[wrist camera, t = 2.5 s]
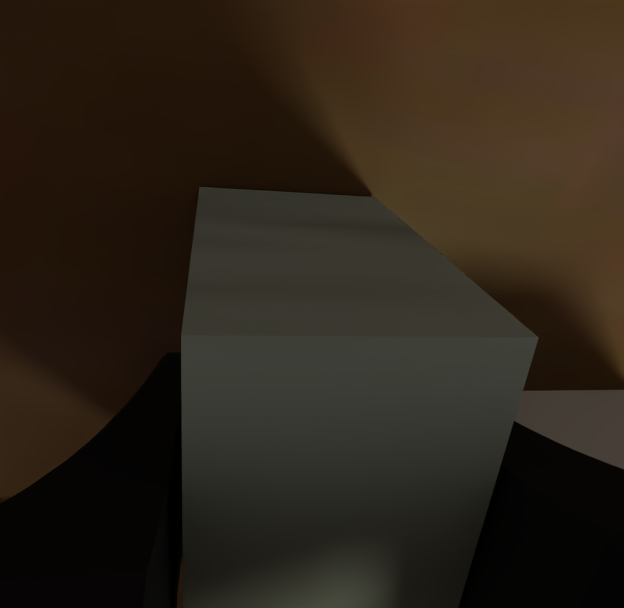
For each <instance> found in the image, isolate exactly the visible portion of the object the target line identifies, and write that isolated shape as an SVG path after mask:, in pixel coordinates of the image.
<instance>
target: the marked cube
mask: <svg viewBox="0 0 624 608" xmlns="http://www.w3.org/2000/svg"><path fill="white" fill-rule="evenodd" d="M514 421H516V422H518V423H519V424H521V425H523V426H525V427H527V428H529V429H531V430H533V431H535V432H537V433H539V434H541V435H543V436H545V437H547V438H549V439H551V440H553V441H555V442H558V443H560V444H562V445H564V446H567V447H569V448H571V449H573V450H576V451H578V452H581V453H583V454H586V455H588V456H591V457H593V458H596V459H598V460H601V461H603V462H606V463H608V464H611V465H614V466H616V467H619V468H622V469H624V390H554V391H523V392H522V396H521V399H520V402H519V406H518V409H517V412H516V416H515V419H514Z"/></svg>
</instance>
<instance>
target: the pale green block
mask: <svg viewBox="0 0 624 608" xmlns="http://www.w3.org/2000/svg"><path fill="white" fill-rule="evenodd" d="M538 339H539V337H538V336H536V335H535V334H534V333H533V332H532V331H531V330H529V329H528V328H527V327H526V326H525V325H524V324H522V323H521V322H520V321H519V320H518V319H517V318H515V317H514V316H513V315H512V314H511V313H510V312H508V311H507V310H506V309H505V308H504V307H503V306H501V305H500V304H499V303H498V302H497V301H496V300H494V299H493V298H492V297H491V296H490V295H489V294H487V293H486V292H485V291H484V290H483V289H482V288H480V287H479V286H478V285H477V284H476V283H475V282H473V281H472V280H471V279H470V278H469V277H468V276H466V275H465V274H464V273H463V272H462V271H461V270H459V269H458V268H457V267H456V266H455V265H454V264H452V263H451V262H450V261H449V260H448V259H447V258H445V257H444V256H443V255H442V254H441V253H440V252H438V251H437V250H436V249H435V248H434V247H433V246H431V245H430V244H429V243H428V242H427V241H426V240H424V239H423V238H422V237H421V236H420V235H419V234H417V233H416V232H415V231H414V230H413V229H412V228H410V227H409V226H408V225H407V224H406V223H405V222H403V221H402V220H401V219H400V218H399V217H398V216H396V215H395V214H394V213H393V212H392V211H391V210H389V209H388V208H387V207H386V206H385V205H384V204H382V203H381V202H380V201H379V200H378V199H377V198H375V197H366V196H349V195H331V194H314V193H297V192H280V191H262V190H245V189H228V188H211V187H199V195H198V203H197V211H196V219H195V227H194V235H193V243H192V251H191V259H190V267H189V276H188V284H187V292H186V300H185V308H184V316H183V324H182V332H181V396H182V553H183V608H458V607H459V603H460V600H461V597H462V593H463V590H464V587H465V583H466V580H467V577H468V573H469V570H470V567H471V563H472V560H473V557H474V553H475V550H476V546H477V543H478V540H479V536H480V533H481V530H482V526H483V523H484V520H485V516H486V513H487V510H488V506H489V503H490V499H491V496H492V493H493V489H494V486H495V483H496V479H497V476H498V473H499V469H500V466H501V463H502V459H503V456H504V453H505V449H506V446H507V442H508V439H509V436H510V432H511V429H512V426H513V422H514V419H515V416H516V412H517V409H518V406H519V402H520V399H521V396H522V392H523V389H524V385H525V382H526V379H527V375H528V372H529V369H530V365H531V362H532V359H533V355H534V352H535V349H536V345H537V342H538Z"/></svg>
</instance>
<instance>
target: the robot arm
mask: <svg viewBox="0 0 624 608" xmlns="http://www.w3.org/2000/svg"><path fill="white" fill-rule="evenodd" d="M181 559H182V396H181V353H167V354H166V355H164V356H163V357H162V358H161V360H160V362H159V363H158V365H157V366H156V368H155V369H154V371H153V372H152V373H151V375H150V376H149V377H148V379H147V380H146V381H145V383H144V384H143V385H142V386H141V388H140V389H139V390H138V391H137V392H136V393H135V395H134V396H133V397H132V398H131V399H130V401H129V402H128V403H127V404H126V405H125V406H124V407H123V408H122V410H121V411H120V412H119V413H118V414H117V415H116V416H115V417H114V418H113V419H112V420H111V421H110V422H109V423H108V424H107V425H106V426H105V427H104V428H103V429H102V430H101V431H100V432H99V433H98V434H97V435H96V436H95V437H93V438H92V439H91V440H90V441H89V442H88V443H87V444H86V445H85V446H83V447H82V448H81V449H80V450H79V451H77V452H76V453H75V454H74V455H73V456H71V457H70V458H69V459H68V460H66V461H65V462H64V463H62V464H61V465H59V466H58V467H56V468H55V469H54V470H52V471H51V472H49V473H48V474H46V475H45V476H44V477H42V478H41V479H39V480H38V481H36V482H35V483H34V484H32V485H31V486H29V487H28V488H26V489H25V490H23V491H21V492H20V493H18V494H16V495H15V496H13V497H11V498H10V499H8V500H7V501H5V502H3V503H2V504H0V608H177V592H178V582H179V573H180V565H181ZM458 608H624V469H622V468H619V467H616V466H614V465H611V464H608V463H606V462H603V461H601V460H598V459H596V458H593V457H591V456H588V455H586V454H583V453H581V452H578V451H576V450H573V449H571V448H569V447H567V446H564V445H562V444H560V443H558V442H555V441H553V440H551V439H549V438H547V437H545V436H543V435H541V434H539V433H537V432H535V431H533V430H531V429H529V428H527V427H525V426H523V425H521V424H519V423H518V422H516V421H514V422H513V426H512V429H511V432H510V436H509V439H508V442H507V446H506V449H505V453H504V456H503V459H502V463H501V466H500V469H499V473H498V476H497V479H496V483H495V486H494V489H493V493H492V496H491V499H490V503H489V506H488V510H487V513H486V516H485V520H484V523H483V526H482V530H481V533H480V536H479V540H478V543H477V546H476V550H475V553H474V557H473V560H472V563H471V567H470V570H469V573H468V577H467V580H466V583H465V587H464V590H463V593H462V597H461V600H460V603H459V607H458Z"/></svg>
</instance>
